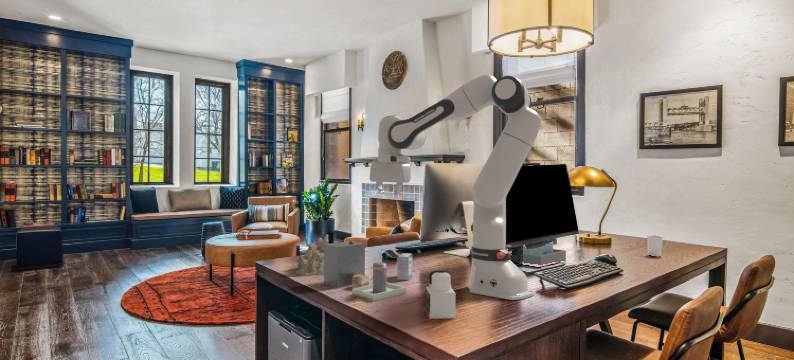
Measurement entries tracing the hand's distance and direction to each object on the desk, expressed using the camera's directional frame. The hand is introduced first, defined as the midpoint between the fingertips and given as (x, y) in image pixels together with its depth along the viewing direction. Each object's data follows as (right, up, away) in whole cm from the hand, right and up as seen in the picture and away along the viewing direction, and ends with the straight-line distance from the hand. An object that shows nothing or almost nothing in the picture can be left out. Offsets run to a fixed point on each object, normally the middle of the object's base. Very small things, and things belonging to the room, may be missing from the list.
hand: (389, 194), depth 172 cm
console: (-16, -31, -14) cm, 38 cm away
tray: (-3, -32, -28) cm, 42 cm away
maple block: (-9, -32, -19) cm, 38 cm away
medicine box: (+6, -32, -5) cm, 32 cm away
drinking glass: (+129, -32, +45) cm, 140 cm away
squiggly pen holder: (+65, -32, +31) cm, 79 cm away
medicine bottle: (+15, -32, -48) cm, 60 cm away
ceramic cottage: (-31, -31, +7) cm, 44 cm away
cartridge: (-3, -31, -28) cm, 41 cm away
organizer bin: (+67, -31, +27) cm, 78 cm away
